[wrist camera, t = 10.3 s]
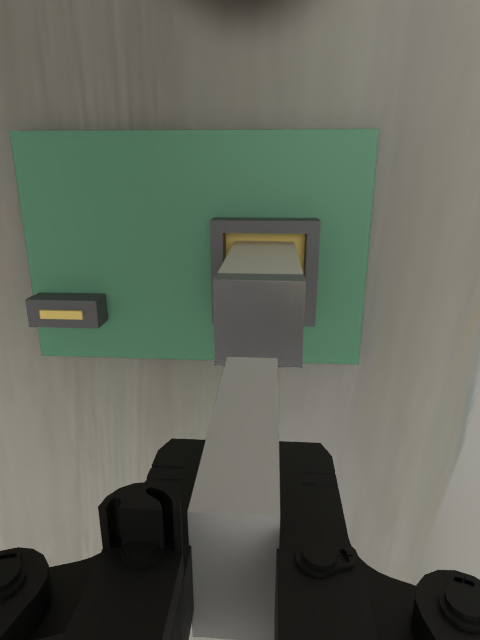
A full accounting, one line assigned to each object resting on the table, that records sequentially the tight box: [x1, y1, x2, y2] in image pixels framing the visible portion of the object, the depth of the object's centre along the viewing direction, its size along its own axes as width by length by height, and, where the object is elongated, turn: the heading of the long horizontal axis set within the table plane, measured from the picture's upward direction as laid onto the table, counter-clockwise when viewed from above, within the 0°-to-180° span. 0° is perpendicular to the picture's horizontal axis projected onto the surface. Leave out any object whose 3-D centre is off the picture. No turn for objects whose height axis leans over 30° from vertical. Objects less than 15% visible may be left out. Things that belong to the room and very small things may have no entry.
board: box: [10, 129, 379, 364], centre depth 32 cm, size 16×24×3 cm, turn 90°
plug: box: [213, 241, 306, 367], centre depth 26 cm, size 4×4×12 cm
